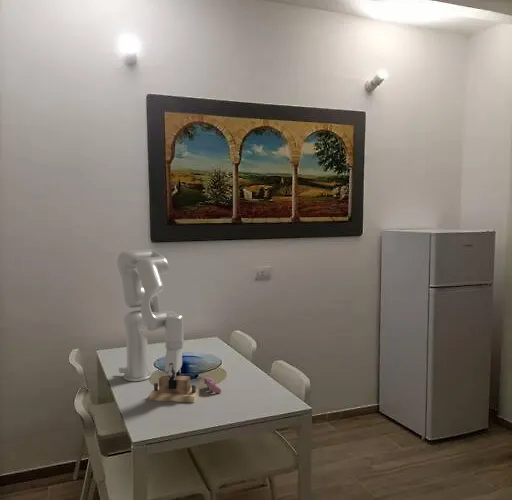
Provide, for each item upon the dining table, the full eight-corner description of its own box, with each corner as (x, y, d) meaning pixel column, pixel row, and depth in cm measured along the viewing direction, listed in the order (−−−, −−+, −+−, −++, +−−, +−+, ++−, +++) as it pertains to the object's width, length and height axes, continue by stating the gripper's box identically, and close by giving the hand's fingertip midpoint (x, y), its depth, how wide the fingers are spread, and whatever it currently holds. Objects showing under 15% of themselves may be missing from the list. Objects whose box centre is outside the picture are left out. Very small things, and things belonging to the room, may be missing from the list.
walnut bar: (159, 392, 201) (159, 378, 200) (163, 388, 205) (163, 374, 205) (186, 394, 199) (186, 380, 198) (190, 390, 204) (190, 376, 203)
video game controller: (207, 390, 215) (200, 377, 213) (215, 384, 216) (209, 371, 214) (213, 398, 205) (206, 385, 204) (222, 392, 207) (215, 379, 205)
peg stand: (149, 400, 199) (149, 387, 198) (156, 391, 208) (156, 379, 207) (194, 402, 197) (194, 389, 196) (199, 393, 206) (199, 381, 205)
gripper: (171, 338, 209) (171, 378, 211) (159, 349, 192) (159, 393, 194) (188, 338, 209) (188, 379, 210) (177, 350, 191) (177, 394, 193)
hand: (174, 385), depth 202 cm, fingers open, 5 cm apart
